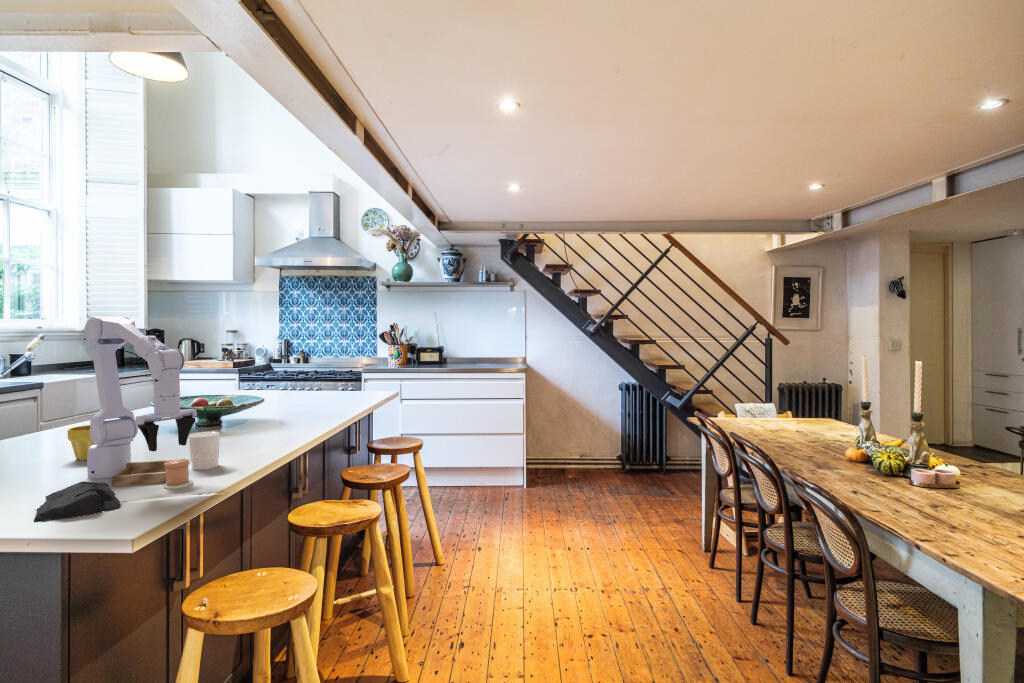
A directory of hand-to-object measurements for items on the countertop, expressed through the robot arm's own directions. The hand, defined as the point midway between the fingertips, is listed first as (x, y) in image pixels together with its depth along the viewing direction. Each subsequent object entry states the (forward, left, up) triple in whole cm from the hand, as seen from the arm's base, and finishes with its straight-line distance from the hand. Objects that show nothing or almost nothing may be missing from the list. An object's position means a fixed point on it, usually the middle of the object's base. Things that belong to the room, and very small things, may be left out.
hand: (168, 447), depth 143 cm
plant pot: (-33, +43, -10) cm, 55 cm away
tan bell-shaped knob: (+3, -3, -9) cm, 10 cm away
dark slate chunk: (-15, -11, -10) cm, 22 cm away
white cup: (+5, +16, -10) cm, 19 cm away
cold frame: (-6, +7, -10) cm, 13 cm away
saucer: (+3, -3, -10) cm, 11 cm away
